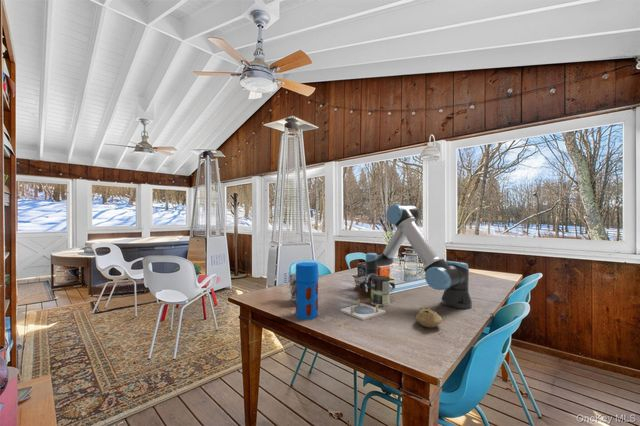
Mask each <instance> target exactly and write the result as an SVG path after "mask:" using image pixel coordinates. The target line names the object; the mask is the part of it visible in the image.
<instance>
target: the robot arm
mask: <svg viewBox="0 0 640 426" xmlns="http://www.w3.org/2000/svg"><path fill="white" fill-rule="evenodd" d="M385 215H386V221H387V223H389V224H390V225H394V226H395V227H396V230H395V232H394V233H393V235H392V236H391V238H390V240H389V242H388V243H387V245H386V246H385V248H384V250H383V251H382V253H381V254H377V253H376V252H367V253H366V254H365V274H364V277H365V279H364V280H363V281H362V282H360V283H359V289H362V290H363V291H365V293H368V292H369V291H368V289H369V288H371V277H372V276H378V268H380V267H389V266H390V265H393V263H394V261H395V259H394V258H395V255H396V254H397V253H398V251H399V249H400V248H401V246H402V245H403V243H404V241H405V239H406V240H407V241H408V243H409V244H410V245H411V246H410V247H412V249H413V250H414V252H415V253H416V255H417V256H418V258H419V260H420V262H421V263H422V264H423V266H424V267H423V271H424V276H425V277H424V279H425V282H426V284H427V285H428V287H430V288H432V289H433V290H435V291H443V293H442V296H441V304H442V305H444V306H446V307H449V308H454V309H471V308H472V307H473V301H472V297H471V295H470V291H469V282H470V281H469V275H470V274H469V271H470V270H469V264H468V263H466V262H462V261H461V262H460V261H453V260H452V261H450V260H446V261H445V259H444V258H441V257H439V256H438V255H437V253H436V252H435V250H434V249H433V247H432V245H430V243H429V241H428V240H427V238H426V237H425V236H424V235H425V234H423V233H422V231H421V230H420V228H419V227H418V225H417V224H418V221H419V218H420V211H419V209H418V207H417V206H415V205H413V204H410V203H408V204H407V203H393V204H391V205H390V206H389V207H388V208H387V210H386V214H385ZM395 285H396V284H395V283H392V282H390V289H389V292H390V293H393V290H394V289H396V286H395Z"/></svg>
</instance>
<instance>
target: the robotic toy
mask: <svg viewBox="0 0 640 426" xmlns="http://www.w3.org/2000/svg"><path fill="white" fill-rule="evenodd" d="M287 282H288V283H289V286H288V285H287V288H290V287H291V288H290V294H291V297H290V298H291V300H295V301H296V273H292V274H290V275H289V279H288V281H287Z"/></svg>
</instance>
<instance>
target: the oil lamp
mask: <svg viewBox="0 0 640 426" xmlns="http://www.w3.org/2000/svg"><path fill="white" fill-rule="evenodd" d="M415 320H416V321H417V322H418V323H419V324H420V325H421V326H422V327H426V328H431V329H432V328H436V327H438V325H440V324H441V323H442V322H443V318H442V316H441V315H439V314H438V313H437V312H436V311H435V310H432V309H431V308H430V307H424V306H423V307H421V309H420V311H419V312H418V313H417V314H416V315H415Z"/></svg>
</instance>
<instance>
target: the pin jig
mask: <svg viewBox="0 0 640 426" xmlns="http://www.w3.org/2000/svg"><path fill="white" fill-rule="evenodd" d="M356 301H357V302H356V304H354V305H350V306H347V307H343V308H340V309H339V312H341V313H344V314H347V315H349V316H352V317H353V318H356V319H359V320H361V321H366V320H368V319H372V318H375V317H377V316H381V315H384V314H386V310H384V309H381V308H379V306H378V305H375V306H372V305H369V304H366V303H363V302H362V303H361V299H357V300H356Z"/></svg>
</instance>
